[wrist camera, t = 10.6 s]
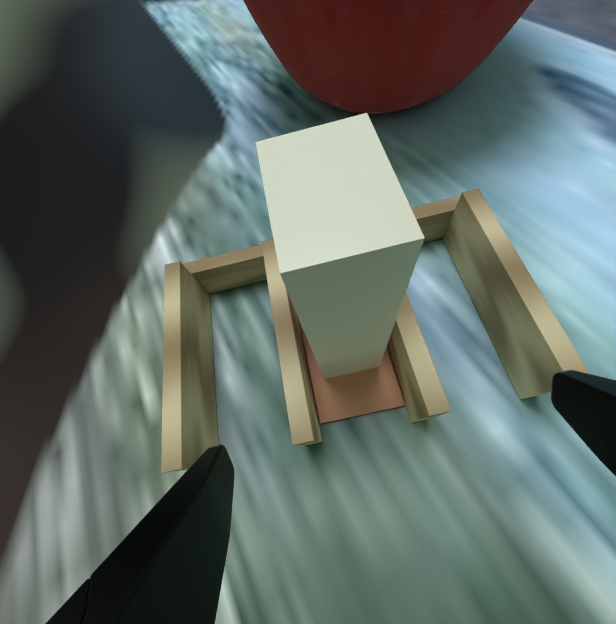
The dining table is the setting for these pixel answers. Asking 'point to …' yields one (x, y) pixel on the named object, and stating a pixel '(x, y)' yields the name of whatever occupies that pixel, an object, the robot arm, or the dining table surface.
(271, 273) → the rack
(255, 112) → the dining table surface
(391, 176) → the tall off-white box
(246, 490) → the dining table surface
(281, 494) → the dining table surface
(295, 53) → the mixing bowl
